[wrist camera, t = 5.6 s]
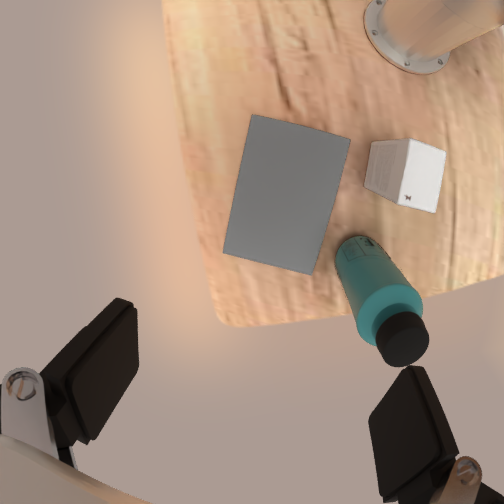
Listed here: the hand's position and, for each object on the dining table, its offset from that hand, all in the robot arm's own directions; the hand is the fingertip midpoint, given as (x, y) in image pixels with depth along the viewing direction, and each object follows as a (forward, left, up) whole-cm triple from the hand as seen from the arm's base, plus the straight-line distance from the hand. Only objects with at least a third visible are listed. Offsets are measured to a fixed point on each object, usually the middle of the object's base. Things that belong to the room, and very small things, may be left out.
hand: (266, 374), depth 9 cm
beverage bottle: (+4, +11, -28) cm, 31 cm away
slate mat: (-1, 0, -28) cm, 28 cm away
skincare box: (-8, +11, -28) cm, 32 cm away
